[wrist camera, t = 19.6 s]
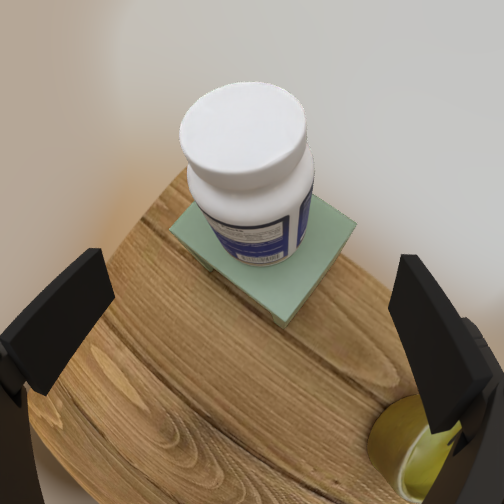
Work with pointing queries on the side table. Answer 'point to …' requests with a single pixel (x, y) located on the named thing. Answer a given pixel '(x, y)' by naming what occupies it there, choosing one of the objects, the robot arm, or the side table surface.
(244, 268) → the shelf
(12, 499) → the robot arm
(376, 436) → the mug
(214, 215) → the pill bottle
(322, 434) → the side table surface
